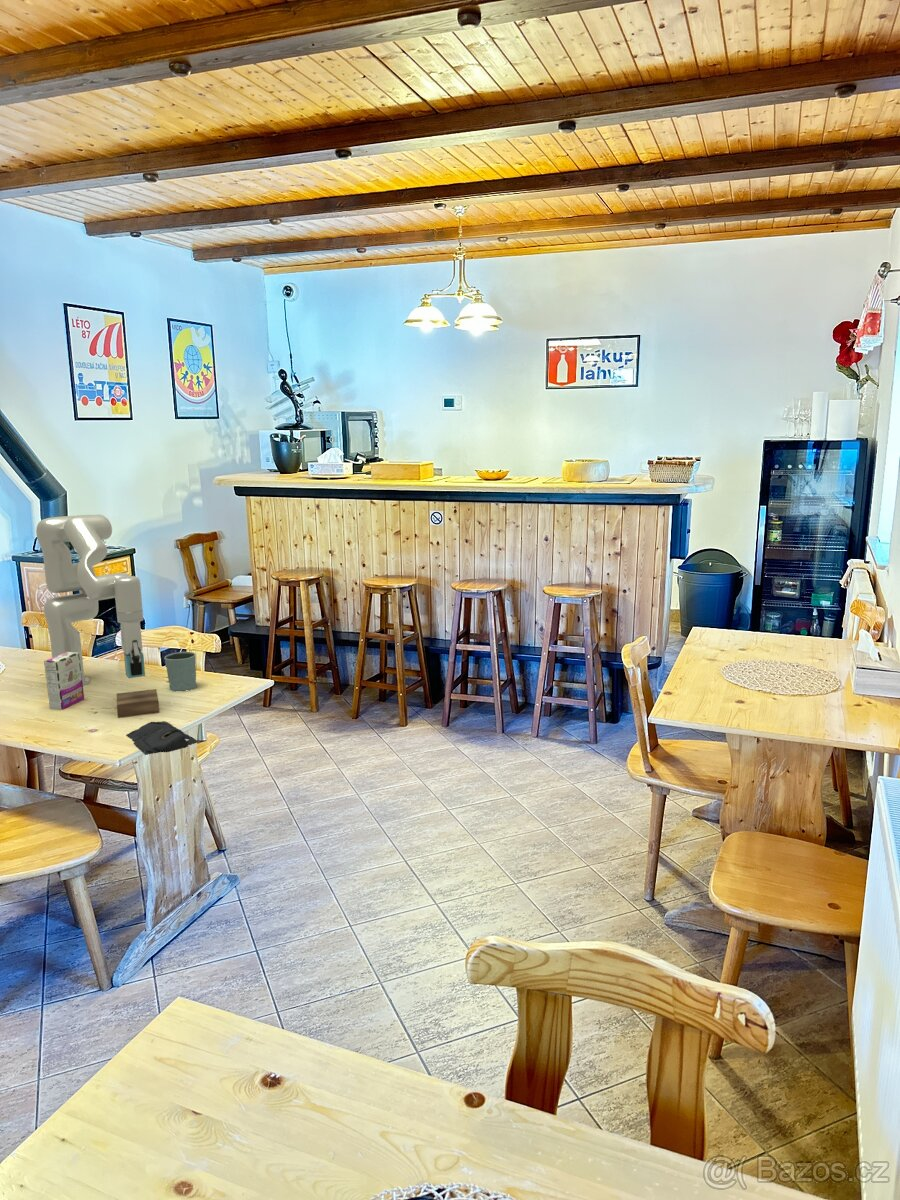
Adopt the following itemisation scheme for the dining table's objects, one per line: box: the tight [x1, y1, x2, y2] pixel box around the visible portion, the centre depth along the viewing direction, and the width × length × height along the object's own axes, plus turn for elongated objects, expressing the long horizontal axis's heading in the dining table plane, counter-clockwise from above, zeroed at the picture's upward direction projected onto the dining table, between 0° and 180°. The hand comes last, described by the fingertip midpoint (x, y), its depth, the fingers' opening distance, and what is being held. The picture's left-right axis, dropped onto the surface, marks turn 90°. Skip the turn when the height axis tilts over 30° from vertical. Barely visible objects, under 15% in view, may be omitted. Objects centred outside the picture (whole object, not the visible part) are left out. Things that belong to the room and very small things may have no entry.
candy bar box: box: [43, 652, 85, 711], centre depth 257 cm, size 11×5×16 cm, turn 168°
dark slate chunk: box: [125, 720, 199, 756], centre depth 226 cm, size 15×22×5 cm
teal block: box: [123, 651, 146, 679], centre depth 249 cm, size 5×5×7 cm
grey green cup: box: [164, 651, 197, 692], centre depth 273 cm, size 10×10×12 cm
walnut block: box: [116, 688, 160, 719], centre depth 252 cm, size 12×12×5 cm
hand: (135, 672), depth 250 cm, fingers closed on teal block, 5 cm apart
